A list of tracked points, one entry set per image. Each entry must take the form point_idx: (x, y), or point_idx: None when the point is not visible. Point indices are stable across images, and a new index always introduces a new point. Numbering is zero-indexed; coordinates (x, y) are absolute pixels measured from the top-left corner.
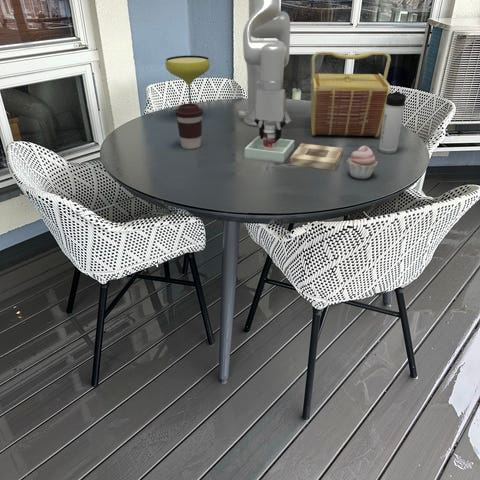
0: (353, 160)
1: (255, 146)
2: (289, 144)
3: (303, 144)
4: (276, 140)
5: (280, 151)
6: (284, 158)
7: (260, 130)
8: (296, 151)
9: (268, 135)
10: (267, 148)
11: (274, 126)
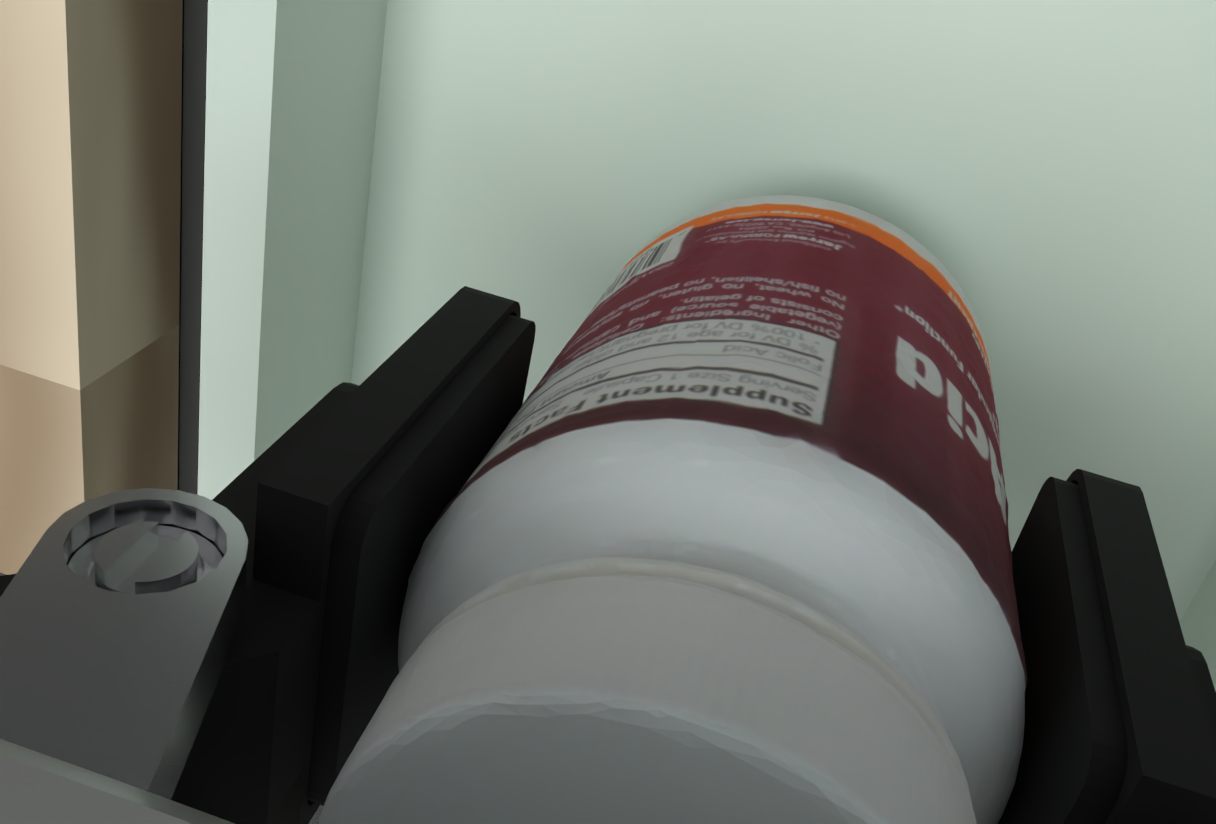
0: None
1: (1202, 622)
2: (233, 395)
3: (29, 538)
4: (495, 295)
5: (537, 366)
6: None
7: (1197, 702)
8: (33, 51)
9: (773, 374)
10: (853, 207)
11: (384, 711)
